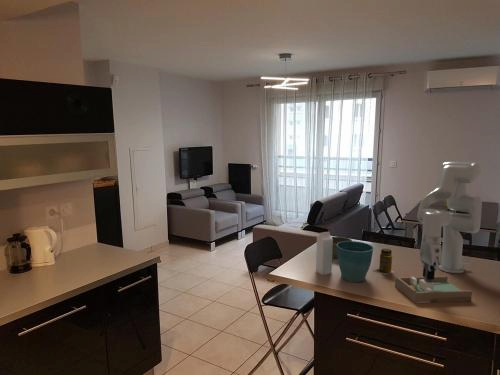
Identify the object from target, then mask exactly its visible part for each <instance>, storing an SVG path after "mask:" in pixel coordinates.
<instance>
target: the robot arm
mask: <svg viewBox="0 0 500 375" xmlns="http://www.w3.org/2000/svg"><path fill="white" fill-rule="evenodd" d="M480 173H481V167H480V165H479V163H477V162H471V161H469V162H468V161H465V162H464V161H445V162H443V163H442V164H441V170H440V173H439V176H438V180H437V183H436V186H435V189H434V190H432V191H431V192H428V193H427V195H425V196H424V197H423V198H422V200H421V201H420V204H419V206H418V211H417V213H416V214H417V216H416V218H417V221H418V222H419V223H421V224H422V233H421V235H422V236H421V243H420V244H421V245H420V248H419V249H420V251H419V260H420V261H421V264H422V268H423V269H422V277H425V263H427V264H429V268H428V270H429V271H427V279H428V280H433V279H434V276H435V272H436V270H440V271H443V272H445V273H451V274H462V273H465V269H464V267H465V268H466V267H468V268H469V267H470V263H469V262H464V261H462V256H463V247H464V246H463V244H464V239H463V236H462V235H461V233H460V232H463V233H469V234H477V233H478V232H480V228H481V221H482V210H483V209H482V207H483V205H482V204H483V202H482V201H483V200H482V198H481V196H480V195H479V194H478V195H477V194H471V193H470V194H469V193H467V184H471V183H472V184H473V183H474V181H476V180H477V179H478V178H479V177H480ZM445 200H446V207H447V209H449V210H451V211H455V212H450V211H448V210H447V209H437V208H430V206H431V205H432V204H435V203H437V202H441V201H445ZM459 212H460V213H459ZM461 212H464V213H461ZM468 213H469V214H468ZM441 240H442V244H441ZM433 263H434V264H433ZM431 266H433V267H431Z"/></svg>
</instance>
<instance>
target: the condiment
mask: <svg viewBox="0 0 500 375" xmlns="http://www.w3.org/2000/svg"><path fill="white" fill-rule="evenodd" d="M380 251H381V252H380V255H379V267H378V268H377V269H374V270H373V271H374V272H376V273H378V274H380V275H384V276H386V275H389V274H392V273H395V271H394V270H392V262H393V255H392V254H393V253H392V250H391V249H389V248H382V249H380Z"/></svg>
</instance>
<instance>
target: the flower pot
mask: <svg viewBox="0 0 500 375" xmlns="http://www.w3.org/2000/svg"><path fill="white" fill-rule="evenodd" d="M374 249H375V248H374V246H373V245H371V244H369V243H366V242H362V241H357V240H355V241H354V240H352V241H343V242H339V243H338V244H337V256H338V258H337V263H338V267H339V271H340V276H341V278H342V279H343V280H345V281H347V282H354V283H355V282H356V283H358V282H364V281H365V280H366V277H367V275H368V271H369V270H370V267H371V265H372V258H373V253H374V252H373V251H374Z"/></svg>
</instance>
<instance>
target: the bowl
mask: <svg viewBox="0 0 500 375" xmlns="http://www.w3.org/2000/svg"><path fill="white" fill-rule="evenodd" d="M331 237H332V239H333V247H332V258H335V259H336V258H337V259H338V256H337V244H338V243H339V242H343V241H353V240H352V239H351V238H349V237H344V236H331Z"/></svg>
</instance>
